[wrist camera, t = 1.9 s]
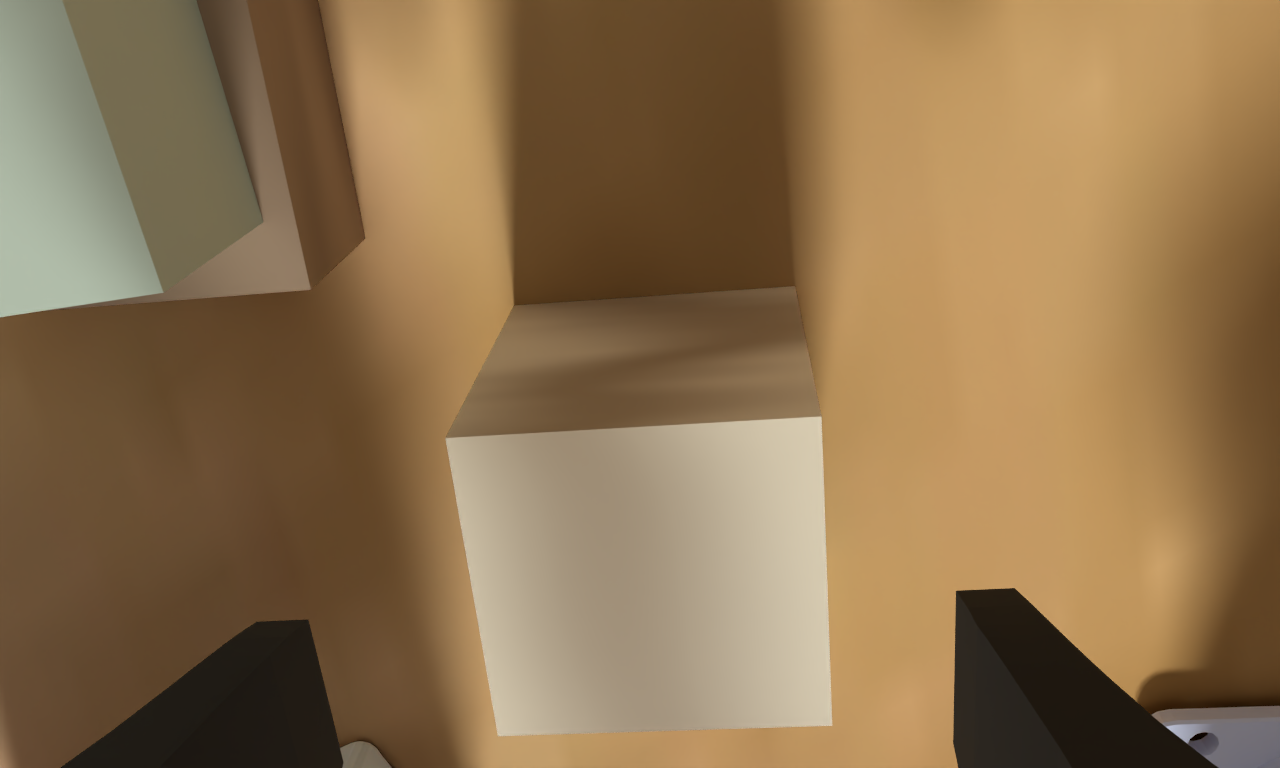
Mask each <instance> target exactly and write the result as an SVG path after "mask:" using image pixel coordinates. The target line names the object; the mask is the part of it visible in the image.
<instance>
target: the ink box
mask: <svg viewBox="0 0 1280 768" xmlns="http://www.w3.org/2000/svg"><path fill="white" fill-rule="evenodd" d="M340 750H341V754H342V758H343V762H344V763H343V767H342V768H392V767H391V766H390V765H389V763H388V762H387V761H386V760H385V759H384V757H383V756H382V755H381V754H380V752H379V751H378V749H377V748H376V747H375V746H373V745H372V744H371V743H368V742H364V741H356V742H353V743H350V744H348V745H346V746H343V747H341V748H340Z"/></svg>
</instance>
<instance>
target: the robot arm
mask: <svg viewBox="0 0 1280 768" xmlns="http://www.w3.org/2000/svg"><path fill="white" fill-rule="evenodd" d="M1203 732H1208V734H1207V735H1206V736H1205V737H1203V738H1202V739H1200V740H1195V741H1190V738H1192V737H1193V736H1194V735H1196V734H1198V733H1203ZM953 744H954V748H955V753H956V758H957V763H958V768H1280V706H1255V707H1224V708H1193V709H1168V710H1162V711H1157V712H1155V713H1154V714H1152V715H1151V714H1150V713H1148V712H1147V711H1146V710H1145V709H1144V708H1143V707H1142V706H1140V705H1139V704H1138V703H1137V702H1136V701H1135V700H1134V699H1133V698H1131V697H1130V696H1129V695H1128V694H1127V693H1126V692H1125V691H1123V690H1122V689H1121V688H1120V687H1119V686H1118V685H1117V684H1115V683H1114V682H1113V681H1112V680H1111V679H1110V678H1109V677H1108V676H1106V675H1105V674H1104V673H1103V672H1102V671H1101V670H1100V669H1099V668H1098V667H1097V666H1096V665H1094V664H1093V663H1092V662H1091V661H1090V660H1089V659H1088V658H1087V657H1086V656H1085V655H1084V654H1083V653H1082V652H1081V651H1080V650H1079V649H1078V648H1076V647H1075V646H1074V645H1073V644H1072V643H1071V642H1070V641H1069V640H1068V639H1067V638H1066V637H1065V636H1064V635H1063V634H1062V633H1061V632H1060V631H1059V630H1058V629H1057V628H1056V627H1055V626H1054V625H1053V624H1051V623H1050V622H1049V621H1048V620H1047V619H1046V618H1045V617H1044V616H1043V615H1042V614H1041V613H1040V612H1039V611H1038V610H1037V609H1036V608H1035V607H1034V606H1033V605H1032V604H1031V603H1030V602H1029V601H1028V600H1027V599H1026V598H1024V597H1023V596H1022V595H1021V594H1020V593H1019V592H1018V591H1017V590H1016V589H1015V588H1010V589H988V590H965V591H956V628H955V682H954V737H953ZM343 763H344V762H343V758H342V754H341V750H340V746H339V742H338V738H337V734H336V730H335V726H334V722H333V718H332V714H331V710H330V706H329V702H328V698H327V694H326V690H325V686H324V681H323V677H322V673H321V669H320V665H319V661H318V657H317V653H316V649H315V645H314V641H313V637H312V633H311V629H310V625H309V621H308V620H289V621H266V622H256V623H254V624H253V625H251V626H250V627H248V628H247V629H245V630H244V631H242V632H241V633H239V634H238V635H237V636H235V637H234V638H232V639H231V640H230V641H228V642H227V643H226V644H224V645H223V646H222V647H220V648H219V649H218V650H216V651H215V652H214V653H212V654H211V655H210V656H208V657H207V658H206V659H205V660H203V661H202V662H201V663H199V664H198V665H197V666H196V667H194V668H193V669H192V670H190V671H189V672H188V673H186V674H185V675H184V676H183V677H181V678H180V679H179V680H178V681H176V682H175V683H174V684H172V685H171V686H170V687H168V688H167V689H166V690H165V691H163V692H162V693H161V694H159V695H158V696H157V697H155V698H154V699H153V700H152V701H150V702H149V703H148V704H146V705H145V706H144V707H142V708H141V709H140V710H139V711H137V712H136V713H135V714H133V715H132V716H131V717H129V718H128V719H127V720H126V721H124V722H123V723H122V724H120V725H119V726H118V727H116V728H115V729H114V730H112V731H111V732H110V733H108V734H107V735H106V736H104V737H103V738H101V739H100V740H99V741H97V742H96V743H94V744H93V745H92V746H90V747H89V748H87V749H86V750H85V751H83V752H82V753H80V754H79V755H78V756H76V757H75V758H73V759H72V760H71V761H69V762H68V763H66V764H65V765H64V766H62V767H61V768H342V767H343Z"/></svg>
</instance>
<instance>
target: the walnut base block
mask: <svg viewBox="0 0 1280 768" xmlns="http://www.w3.org/2000/svg"><path fill="white" fill-rule="evenodd" d="M196 1H197V4H198V7H199V11H200V14H201V17H202V20H203V24H204V27H205V30H206V34H207V37H208V40H209V44H210V47H211V50H212V53H213V57H214V60H215V63H216V67H217V70H218V73H219V77H220V80H221V83H222V86H223V90H224V93H225V96H226V100H227V103H228V106H229V110H230V113H231V116H232V120H233V123H234V126H235V129H236V133H237V136H238V139H239V143H240V146H241V149H242V153H243V156H244V159H245V163H246V166H247V169H248V172H249V176H250V179H251V182H252V186H253V189H254V192H255V196H256V199H257V202H258V206H259V209H260V212H261V216H262V219H263V223H262V224H260V225H259V226H257V227H256V228H254V229H253V230H252V231H250V232H249V233H247V234H246V235H245V236H243V237H242V238H240V239H239V240H237V241H236V242H235V243H233V244H232V245H230V246H229V247H228V248H226V249H225V250H223V251H222V252H220V253H219V254H218V255H216V256H215V257H213V258H212V259H211V260H209V261H208V262H206V263H205V264H203V265H202V266H201V267H199V268H198V269H196V270H195V271H194V272H192V273H191V274H189V275H188V276H186V277H185V278H184V279H182V280H181V281H179V282H178V283H177V284H175V285H174V286H172V287H171V288H169V289H168V290H167V291H165V292H164V293H158V294H152V295H145V296H138V297H132V298H125V299H118V300H112V301H105V302H98V303H92V304H85V305H78V306H72V307H65V308H58V309H52V310H61V309H74V308H86V307H99V306H112V305H124V304H137V303H150V302H162V301H175V300H188V299H200V298H213V297H226V296H238V295H251V294H264V293H276V292H289V291H302V290H311V289H312V288H313V287H314V286H315V285H316V284H317V283H319V282H320V281H321V280H322V279H323V278H324V277H325V276H326V275H327V274H328V273H329V272H330V271H331V270H332V269H333V268H334V267H336V266H337V265H338V264H339V263H340V262H341V261H342V260H343V259H344V258H345V257H346V256H347V255H348V254H349V253H350V252H351V251H353V250H354V249H355V248H356V247H357V246H358V245H359V244H360V243H361V242H362V241H363V240H364V239H365V235H364V230H363V225H362V220H361V214H360V209H359V204H358V199H357V194H356V189H355V184H354V179H353V174H352V169H351V164H350V159H349V154H348V149H347V144H346V139H345V134H344V129H343V124H342V119H341V114H340V109H339V104H338V99H337V94H336V89H335V84H334V79H333V74H332V69H331V64H330V59H329V54H328V49H327V44H326V39H325V34H324V29H323V24H322V19H321V14H320V9H319V4H318V0H196ZM45 311H48V310H45Z"/></svg>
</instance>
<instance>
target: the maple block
mask: <svg viewBox="0 0 1280 768" xmlns="http://www.w3.org/2000/svg"><path fill="white" fill-rule="evenodd" d="M445 439H446V444H447V450H448V456H449V461H450V467H451V473H452V478H453V484H454V490H455V495H456V501H457V507H458V512H459V518H460V524H461V529H462V535H463V540H464V546H465V552H466V557H467V563H468V569H469V574H470V580H471V586H472V591H473V597H474V603H475V608H476V614H477V620H478V625H479V631H480V637H481V642H482V648H483V653H484V659H485V665H486V670H487V676H488V682H489V687H490V693H491V699H492V704H493V710H494V716H495V721H496V727H497V733H498V736H518V735H550V734H582V733H614V732H645V731H677V730H709V729H741V728H773V727H805V726H832V706H831V677H830V648H829V619H828V591H827V562H826V533H825V504H824V476H823V447H822V418H821V412H820V407H819V402H818V397H817V392H816V387H815V382H814V377H813V372H812V367H811V362H810V357H809V352H808V347H807V342H806V337H805V332H804V327H803V322H802V317H801V312H800V307H799V302H798V297H797V292H796V287H795V286H789V287H774V288H760V289H745V290H731V291H716V292H702V293H687V294H673V295H658V296H644V297H629V298H615V299H600V300H586V301H571V302H557V303H542V304H528V305H514V307H513V309H512V310H511V312H510V314H509V316H508V318H507V320H506V322H505V324H504V326H503V328H502V330H501V332H500V334H499V336H498V337H497V339H496V341H495V343H494V345H493V347H492V349H491V351H490V353H489V355H488V357H487V359H486V361H485V363H484V365H483V366H482V368H481V370H480V372H479V374H478V376H477V378H476V380H475V382H474V384H473V386H472V388H471V390H470V392H469V393H468V395H467V397H466V399H465V401H464V403H463V405H462V407H461V409H460V411H459V413H458V415H457V417H456V419H455V420H454V422H453V424H452V426H451V428H450V430H449V432H448V434H447V436H446V438H445Z"/></svg>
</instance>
